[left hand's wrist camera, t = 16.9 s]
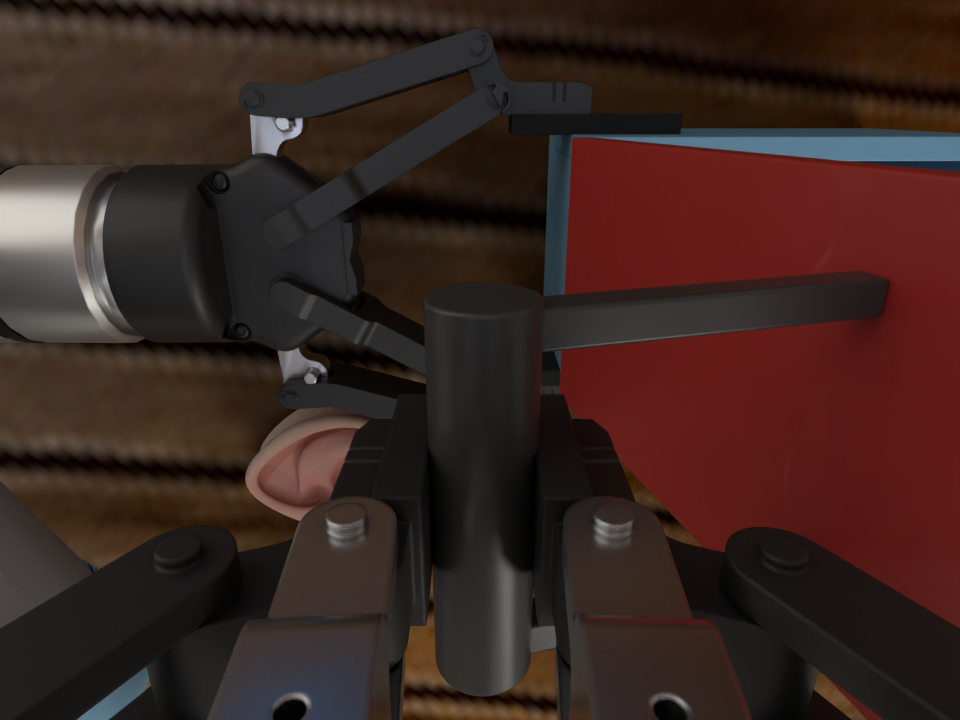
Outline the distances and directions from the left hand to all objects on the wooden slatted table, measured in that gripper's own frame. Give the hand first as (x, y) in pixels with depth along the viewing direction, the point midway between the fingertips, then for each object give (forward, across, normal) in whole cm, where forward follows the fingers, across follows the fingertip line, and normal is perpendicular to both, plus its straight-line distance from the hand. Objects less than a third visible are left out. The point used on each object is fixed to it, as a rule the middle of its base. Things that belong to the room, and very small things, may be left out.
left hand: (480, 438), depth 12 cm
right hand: (+17, -8, 0) cm, 18 cm away
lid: (+5, -6, 0) cm, 8 cm away
